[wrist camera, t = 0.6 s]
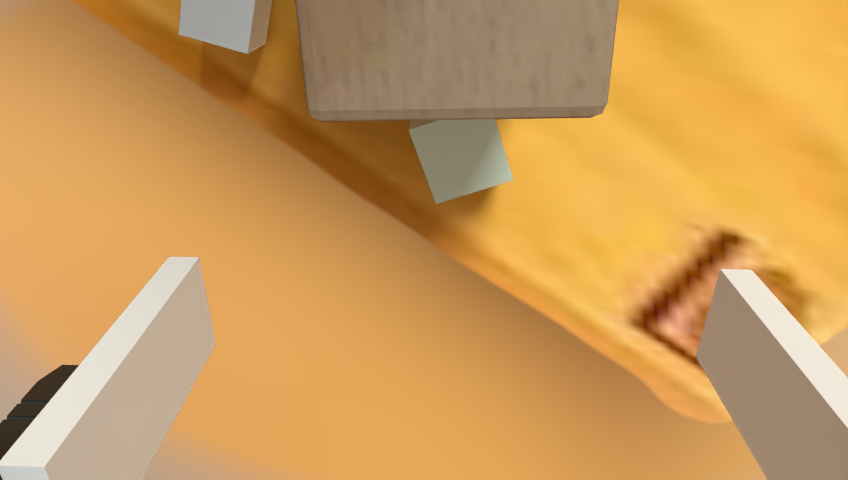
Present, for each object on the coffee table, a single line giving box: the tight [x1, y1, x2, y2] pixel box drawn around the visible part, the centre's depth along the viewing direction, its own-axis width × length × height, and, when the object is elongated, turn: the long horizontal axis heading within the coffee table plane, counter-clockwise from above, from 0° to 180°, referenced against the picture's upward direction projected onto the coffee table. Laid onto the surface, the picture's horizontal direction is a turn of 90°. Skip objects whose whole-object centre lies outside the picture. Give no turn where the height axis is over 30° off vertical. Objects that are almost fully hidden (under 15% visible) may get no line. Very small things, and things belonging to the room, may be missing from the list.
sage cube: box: [409, 119, 513, 204], centre depth 38 cm, size 5×5×5 cm
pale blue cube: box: [179, 0, 272, 54], centre depth 35 cm, size 4×4×4 cm
